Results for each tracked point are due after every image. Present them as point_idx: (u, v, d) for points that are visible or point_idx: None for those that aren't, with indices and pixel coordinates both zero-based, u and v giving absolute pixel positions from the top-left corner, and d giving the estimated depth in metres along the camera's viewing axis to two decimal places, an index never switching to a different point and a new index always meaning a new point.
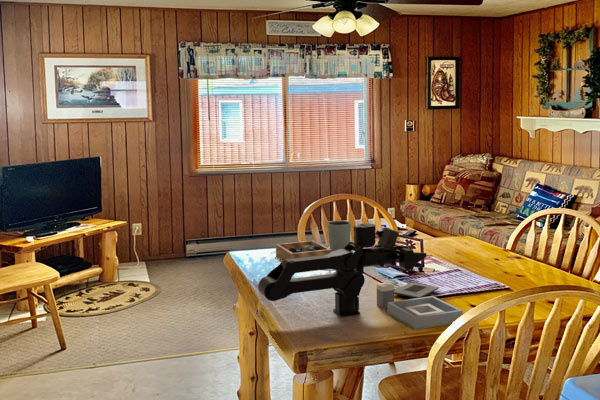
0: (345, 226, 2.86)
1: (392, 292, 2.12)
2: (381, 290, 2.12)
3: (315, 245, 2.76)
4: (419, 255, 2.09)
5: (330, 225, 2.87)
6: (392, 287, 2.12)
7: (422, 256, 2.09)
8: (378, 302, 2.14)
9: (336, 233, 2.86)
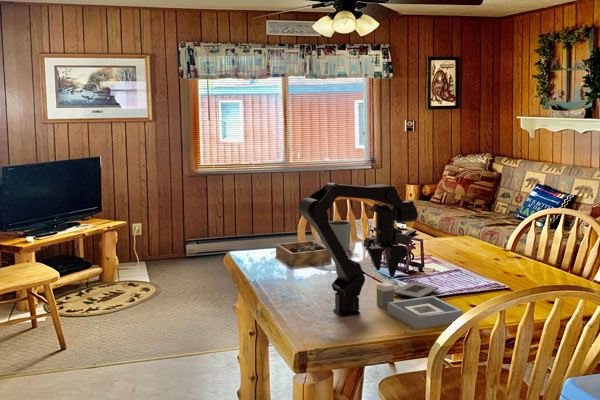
0: (345, 226, 2.86)
1: (392, 292, 2.12)
2: (381, 290, 2.12)
3: (316, 245, 2.75)
4: (394, 268, 2.07)
5: (330, 225, 2.87)
6: (392, 287, 2.12)
7: (392, 272, 2.08)
8: (378, 302, 2.14)
9: (336, 233, 2.86)
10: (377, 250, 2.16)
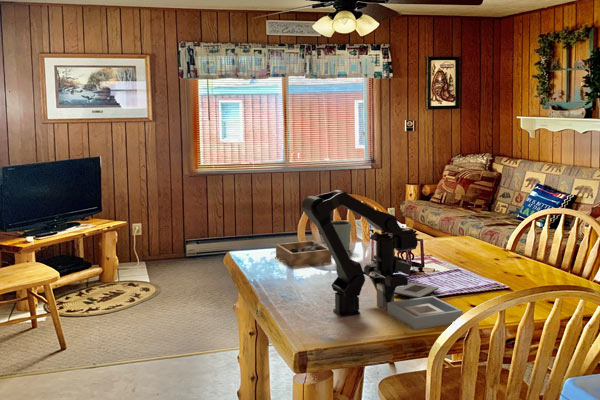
0: (345, 226, 2.86)
1: None
2: (381, 290, 2.12)
3: (317, 246, 2.75)
4: (391, 294, 2.11)
5: None
6: None
7: (389, 298, 2.11)
8: (378, 302, 2.14)
9: None
10: (381, 279, 2.16)
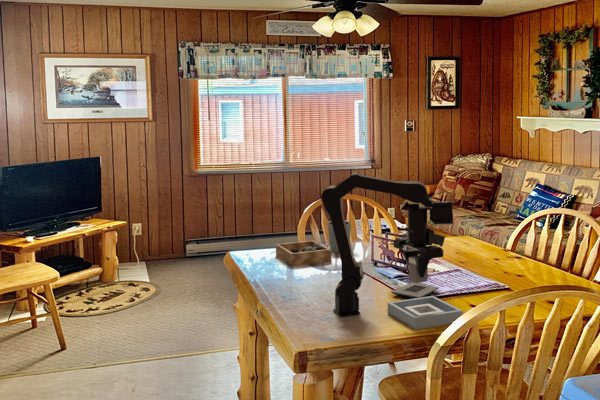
0: None
1: None
2: (414, 263, 2.00)
3: (318, 246, 2.74)
4: (424, 267, 1.99)
5: (330, 225, 2.87)
6: None
7: (422, 271, 2.00)
8: (411, 277, 2.03)
9: None
10: (412, 253, 2.04)
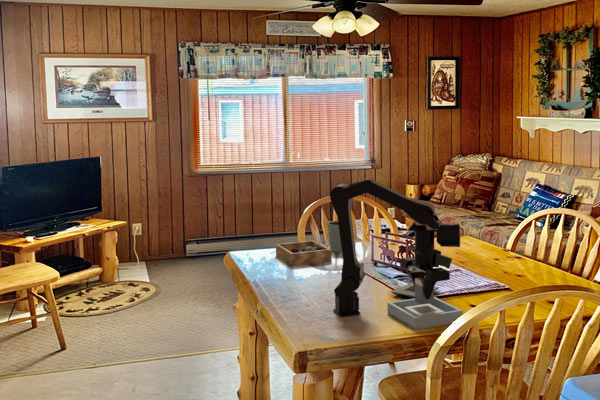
0: None
1: None
2: (420, 285, 1.99)
3: (318, 246, 2.74)
4: (430, 289, 1.98)
5: (330, 225, 2.87)
6: None
7: (428, 293, 1.98)
8: (416, 298, 2.02)
9: (336, 233, 2.86)
10: (419, 274, 2.03)
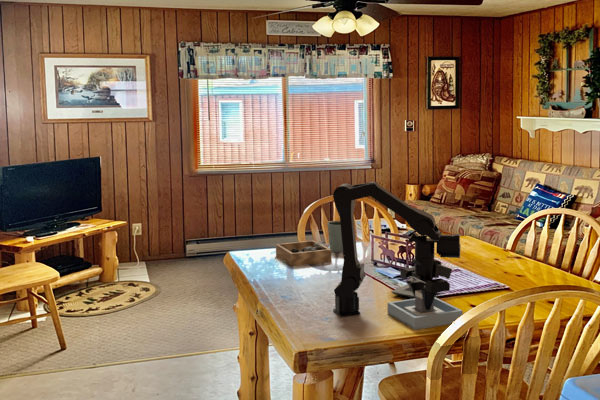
0: None
1: None
2: (420, 297, 2.00)
3: (317, 246, 2.74)
4: (431, 300, 1.98)
5: (330, 225, 2.87)
6: None
7: (429, 304, 1.99)
8: (417, 310, 2.02)
9: (336, 233, 2.86)
10: (419, 284, 2.03)
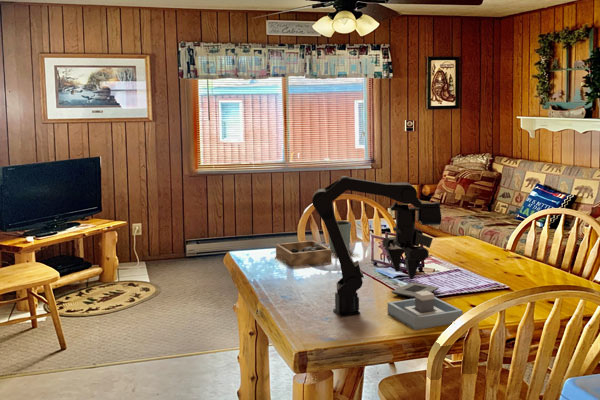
0: (345, 226, 2.86)
1: (432, 301, 2.00)
2: (420, 299, 2.00)
3: (318, 246, 2.74)
4: (414, 269, 2.00)
5: None
6: (432, 296, 2.00)
7: (412, 273, 2.01)
8: None
9: None
10: (396, 251, 2.10)
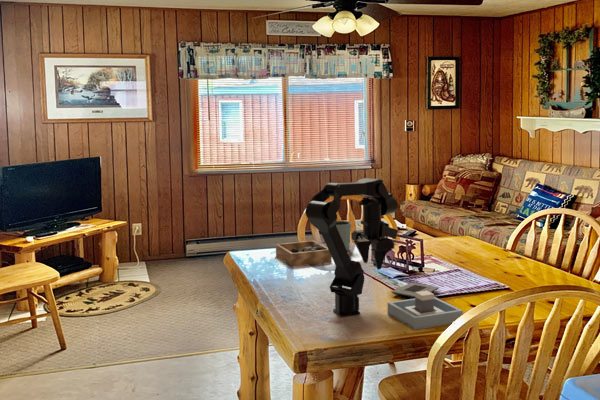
0: (345, 226, 2.86)
1: (432, 301, 2.00)
2: (420, 299, 2.00)
3: (318, 246, 2.74)
4: (381, 260, 2.11)
5: None
6: (432, 296, 2.00)
7: (379, 264, 2.11)
8: None
9: None
10: (365, 243, 2.20)
